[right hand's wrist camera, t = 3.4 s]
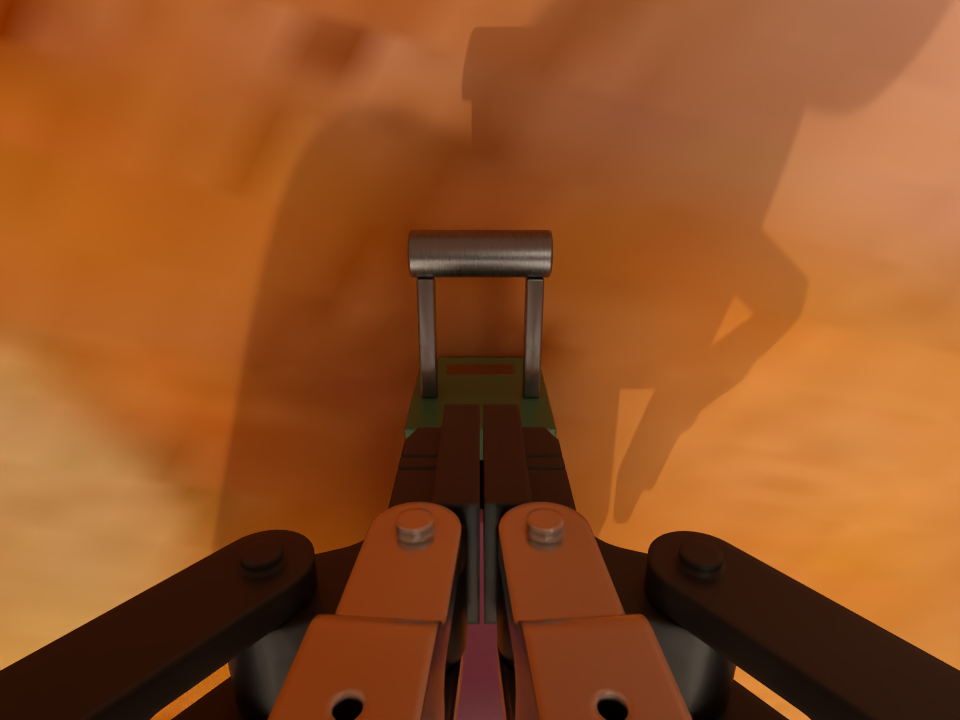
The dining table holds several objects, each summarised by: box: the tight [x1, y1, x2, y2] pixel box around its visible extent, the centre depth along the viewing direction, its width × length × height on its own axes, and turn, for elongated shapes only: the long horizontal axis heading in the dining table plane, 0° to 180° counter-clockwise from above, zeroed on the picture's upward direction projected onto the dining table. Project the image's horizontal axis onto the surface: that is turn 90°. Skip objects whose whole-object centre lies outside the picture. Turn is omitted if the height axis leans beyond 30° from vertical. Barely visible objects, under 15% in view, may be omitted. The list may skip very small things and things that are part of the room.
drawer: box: [404, 230, 556, 509], centre depth 24 cm, size 21×5×7 cm, turn 0°
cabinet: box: [457, 509, 503, 720], centre depth 27 cm, size 16×6×8 cm, turn 0°
